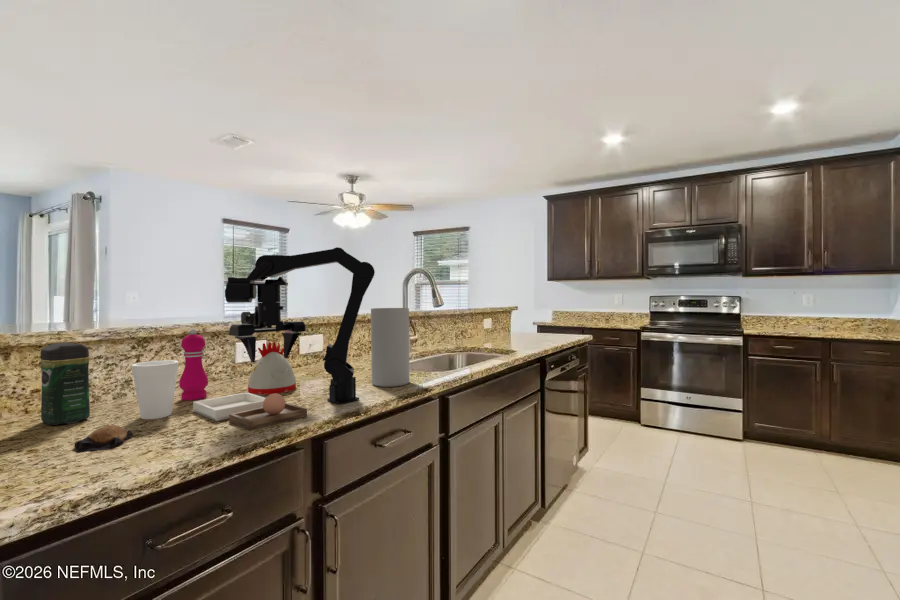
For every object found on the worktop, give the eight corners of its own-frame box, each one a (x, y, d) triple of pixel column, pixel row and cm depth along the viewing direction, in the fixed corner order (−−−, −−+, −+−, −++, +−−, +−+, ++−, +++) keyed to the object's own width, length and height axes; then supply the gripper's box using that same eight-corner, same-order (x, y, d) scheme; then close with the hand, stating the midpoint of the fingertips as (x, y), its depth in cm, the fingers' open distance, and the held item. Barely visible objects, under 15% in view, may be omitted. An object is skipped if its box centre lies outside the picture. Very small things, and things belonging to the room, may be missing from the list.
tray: (285, 409, 110) (285, 402, 110) (307, 416, 104) (306, 408, 104) (229, 421, 99) (229, 414, 99) (249, 430, 93) (249, 422, 93)
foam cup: (155, 422, 100) (154, 366, 100) (122, 420, 102) (121, 365, 102) (187, 411, 109) (187, 360, 109) (157, 409, 111) (156, 359, 111)
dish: (247, 401, 119) (246, 392, 119) (271, 409, 111) (271, 399, 111) (193, 411, 109) (193, 401, 109) (215, 421, 100) (215, 410, 100)
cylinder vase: (383, 378, 150) (382, 307, 150) (415, 381, 146) (414, 308, 146) (364, 386, 138) (363, 309, 138) (399, 388, 134) (398, 309, 134)
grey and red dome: (240, 390, 134) (239, 342, 134) (282, 383, 144) (281, 338, 144) (261, 396, 125) (260, 345, 125) (304, 388, 135) (303, 341, 135)
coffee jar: (95, 419, 103) (94, 342, 102) (52, 428, 96) (51, 345, 96) (78, 413, 107) (77, 340, 107) (36, 422, 101) (34, 343, 100)
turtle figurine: (89, 440, 89) (88, 422, 89) (137, 434, 93) (137, 417, 93) (66, 457, 80) (65, 438, 80) (121, 450, 83) (120, 431, 83)
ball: (272, 415, 105) (282, 396, 107) (283, 419, 102) (292, 399, 104) (255, 408, 102) (265, 389, 104) (265, 412, 98) (275, 391, 100)
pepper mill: (173, 399, 122) (172, 329, 122) (196, 394, 128) (196, 327, 128) (191, 401, 119) (190, 330, 119) (214, 396, 126) (213, 328, 125)
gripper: (285, 301, 127) (286, 354, 127) (220, 302, 113) (220, 361, 113) (306, 301, 120) (307, 357, 120) (239, 303, 106) (239, 365, 106)
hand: (269, 360), depth 115 cm, fingers open, 9 cm apart
